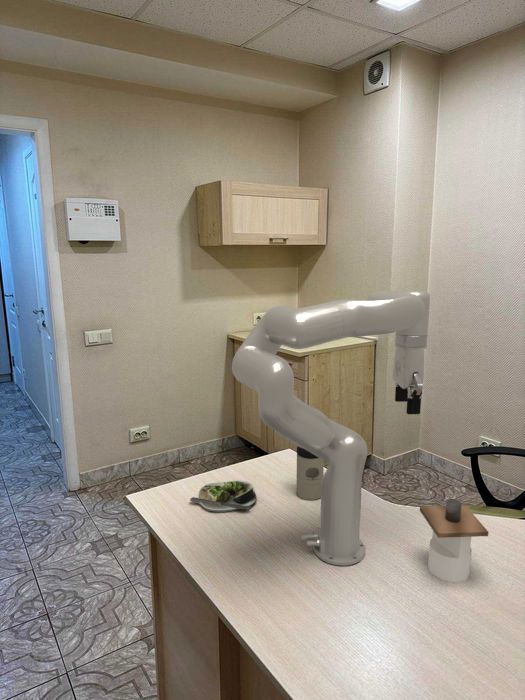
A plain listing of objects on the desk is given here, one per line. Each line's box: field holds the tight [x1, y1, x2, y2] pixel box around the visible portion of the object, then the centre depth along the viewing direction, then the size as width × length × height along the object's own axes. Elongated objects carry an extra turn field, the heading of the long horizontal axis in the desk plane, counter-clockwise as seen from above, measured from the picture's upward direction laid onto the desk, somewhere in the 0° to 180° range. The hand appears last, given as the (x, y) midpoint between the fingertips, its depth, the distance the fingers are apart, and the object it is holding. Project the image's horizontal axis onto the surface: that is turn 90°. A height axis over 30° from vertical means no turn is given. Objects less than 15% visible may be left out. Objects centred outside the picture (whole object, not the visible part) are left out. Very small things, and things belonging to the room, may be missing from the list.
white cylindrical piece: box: [427, 530, 472, 584], centre depth 113 cm, size 9×9×12 cm
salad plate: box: [189, 480, 258, 513], centre depth 145 cm, size 19×18×5 cm
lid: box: [419, 498, 489, 538], centre depth 111 cm, size 11×11×5 cm
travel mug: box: [295, 445, 325, 501], centre depth 147 cm, size 8×8×18 cm
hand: (406, 407), depth 125 cm, fingers open, 9 cm apart
